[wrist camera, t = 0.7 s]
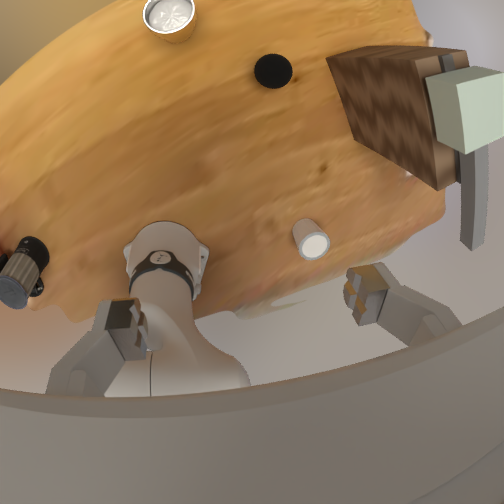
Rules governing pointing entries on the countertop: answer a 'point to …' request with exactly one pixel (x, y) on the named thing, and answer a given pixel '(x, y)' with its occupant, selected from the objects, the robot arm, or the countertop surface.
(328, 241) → the white short cylinder
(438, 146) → the walnut stand
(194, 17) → the beer glass
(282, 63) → the light bulb
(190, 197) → the countertop surface
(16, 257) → the milk frother
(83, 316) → the countertop surface
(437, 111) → the grey mallet
